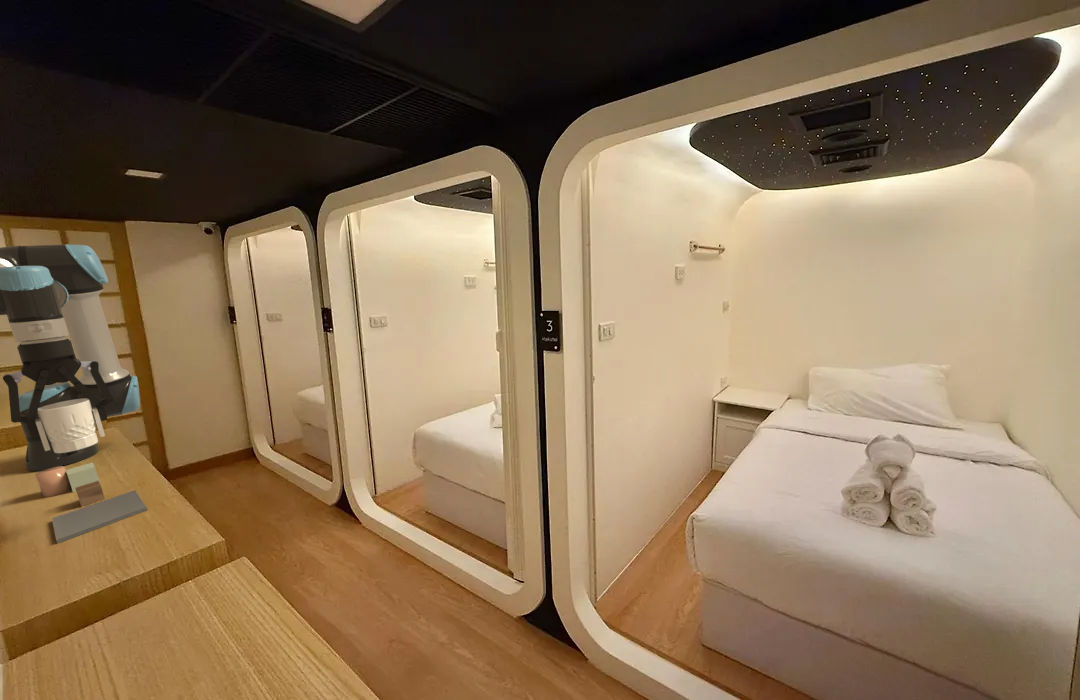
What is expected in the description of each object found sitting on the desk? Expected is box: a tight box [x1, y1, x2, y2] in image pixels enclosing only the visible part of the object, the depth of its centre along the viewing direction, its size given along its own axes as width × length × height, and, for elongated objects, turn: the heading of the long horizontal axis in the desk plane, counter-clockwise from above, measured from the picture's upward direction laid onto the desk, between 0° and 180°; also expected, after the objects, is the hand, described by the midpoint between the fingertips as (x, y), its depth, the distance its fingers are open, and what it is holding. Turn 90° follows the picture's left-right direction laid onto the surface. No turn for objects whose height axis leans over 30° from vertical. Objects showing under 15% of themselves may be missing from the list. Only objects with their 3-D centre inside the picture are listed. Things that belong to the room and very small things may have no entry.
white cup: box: [37, 398, 99, 453], centre depth 93 cm, size 8×8×10 cm
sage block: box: [66, 462, 101, 493], centre depth 112 cm, size 5×5×5 cm
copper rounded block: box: [35, 465, 72, 498], centre depth 110 cm, size 5×5×6 cm
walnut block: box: [75, 480, 106, 508], centre depth 104 cm, size 4×4×4 cm
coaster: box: [51, 489, 148, 544], centre depth 97 cm, size 14×14×1 cm
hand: (75, 441), depth 94 cm, fingers closed on white cup, 8 cm apart
